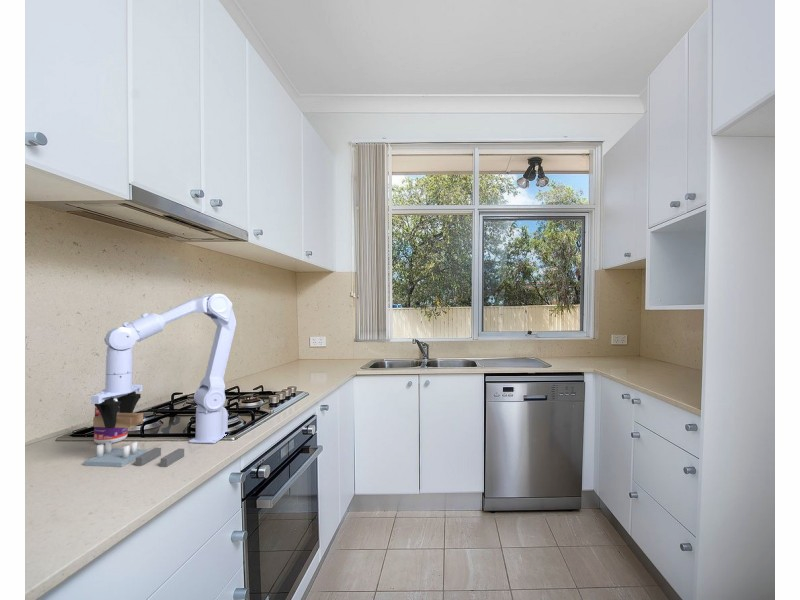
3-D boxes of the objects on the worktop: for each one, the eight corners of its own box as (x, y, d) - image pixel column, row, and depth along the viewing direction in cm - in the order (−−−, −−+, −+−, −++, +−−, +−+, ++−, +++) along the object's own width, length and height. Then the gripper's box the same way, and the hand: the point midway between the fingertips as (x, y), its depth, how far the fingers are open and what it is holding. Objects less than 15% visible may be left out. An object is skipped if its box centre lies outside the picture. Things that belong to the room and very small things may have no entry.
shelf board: (107, 421, 103) (108, 412, 103) (143, 422, 102) (143, 413, 102) (93, 426, 99) (93, 417, 99) (130, 428, 98) (130, 418, 98)
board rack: (155, 455, 103) (155, 447, 103) (184, 456, 103) (184, 448, 103) (135, 465, 96) (135, 457, 96) (166, 466, 96) (166, 458, 96)
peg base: (113, 452, 105) (113, 437, 105) (147, 453, 104) (148, 438, 105) (83, 465, 96) (84, 449, 96) (121, 466, 96) (121, 450, 96)
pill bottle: (87, 446, 110) (88, 395, 110) (103, 437, 117) (104, 389, 118) (119, 444, 111) (120, 394, 111) (132, 435, 119) (133, 388, 119)
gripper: (126, 368, 108) (125, 416, 108) (80, 377, 94) (78, 433, 94) (150, 368, 108) (149, 417, 108) (107, 378, 93) (105, 434, 93)
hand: (117, 424), depth 101 cm, fingers closed on shelf board, 4 cm apart
